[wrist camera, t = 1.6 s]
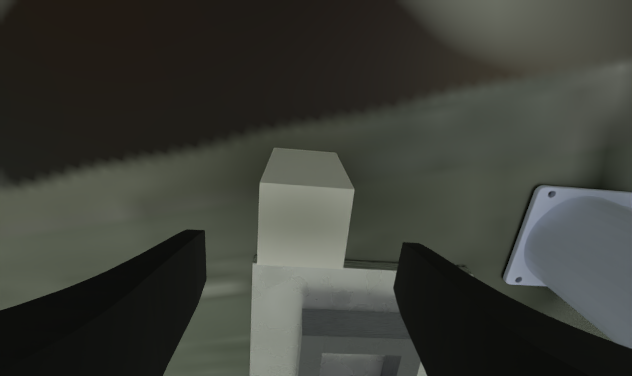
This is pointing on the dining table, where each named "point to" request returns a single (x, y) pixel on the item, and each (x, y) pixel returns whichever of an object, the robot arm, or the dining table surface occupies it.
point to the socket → (329, 322)
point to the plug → (304, 210)
